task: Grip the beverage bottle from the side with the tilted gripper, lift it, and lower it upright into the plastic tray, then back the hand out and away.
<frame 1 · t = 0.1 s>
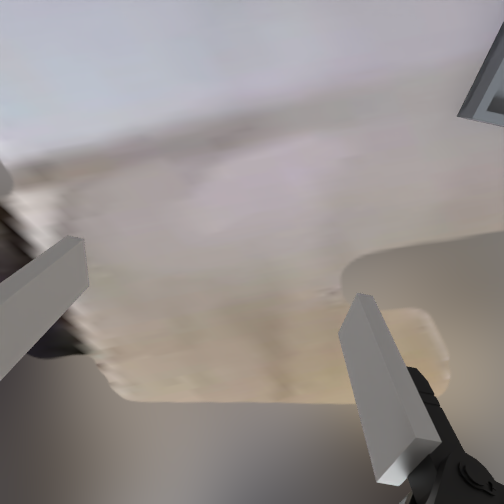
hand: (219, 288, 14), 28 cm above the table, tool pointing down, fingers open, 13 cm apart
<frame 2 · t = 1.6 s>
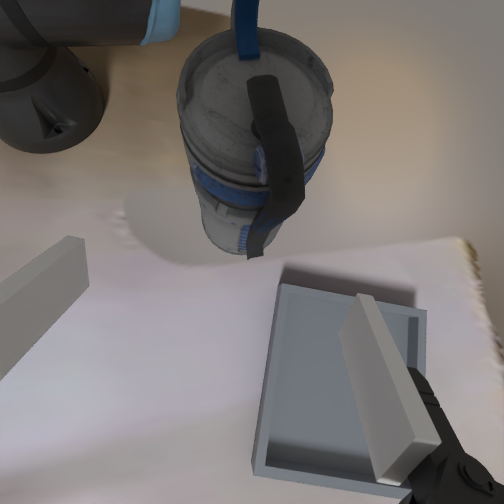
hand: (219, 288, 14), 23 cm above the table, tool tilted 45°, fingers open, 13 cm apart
tray: (337, 380, 35), on the table
beverage bottle: (242, 227, 39), on the table
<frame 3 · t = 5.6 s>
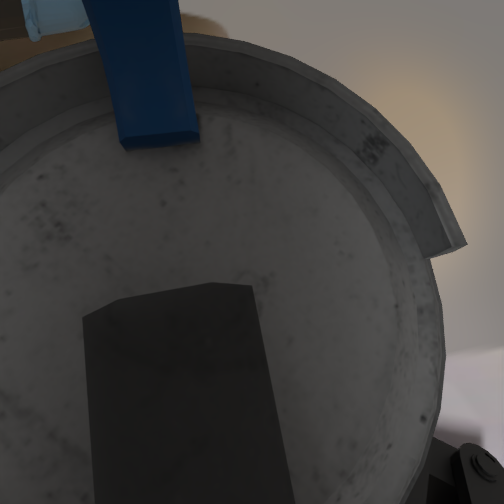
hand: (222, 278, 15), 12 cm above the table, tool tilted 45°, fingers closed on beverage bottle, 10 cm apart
beverage bottle: (217, 333, 26), on the table, touching gripper
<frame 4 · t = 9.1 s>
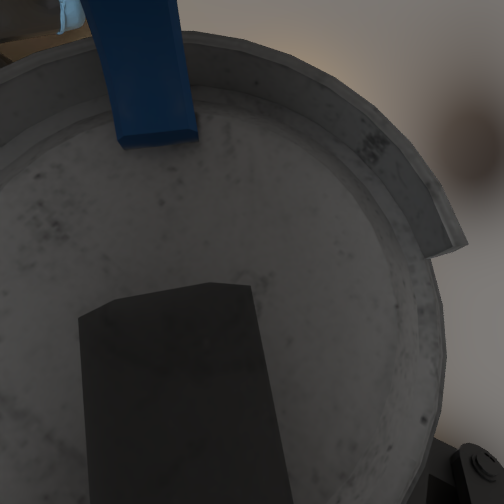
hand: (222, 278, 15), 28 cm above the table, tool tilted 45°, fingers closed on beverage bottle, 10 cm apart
beverage bottle: (217, 333, 26), point 16 cm above the table, touching gripper
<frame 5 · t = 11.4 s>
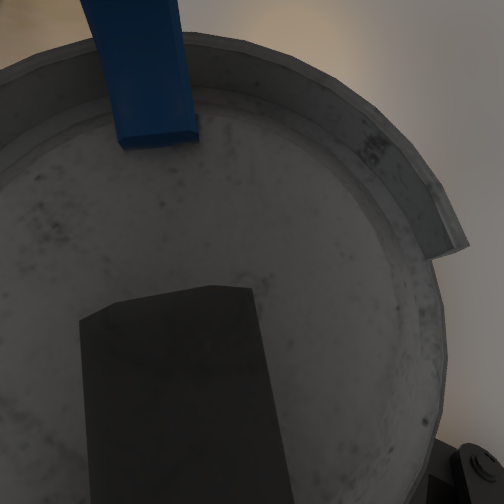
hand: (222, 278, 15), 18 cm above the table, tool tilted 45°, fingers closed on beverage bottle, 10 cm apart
beverage bottle: (217, 333, 26), point 6 cm above the table, touching gripper
when the fingers open (14 cm above the table, at t = 13.0 s): beverage bottle drops 1 cm, resting on tray.
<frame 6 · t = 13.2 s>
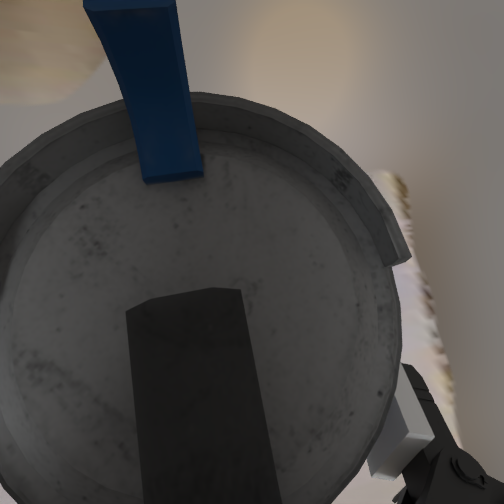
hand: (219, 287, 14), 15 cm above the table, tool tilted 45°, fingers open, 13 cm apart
beverage bottle: (221, 335, 27), point 1 cm above the table, touching tray
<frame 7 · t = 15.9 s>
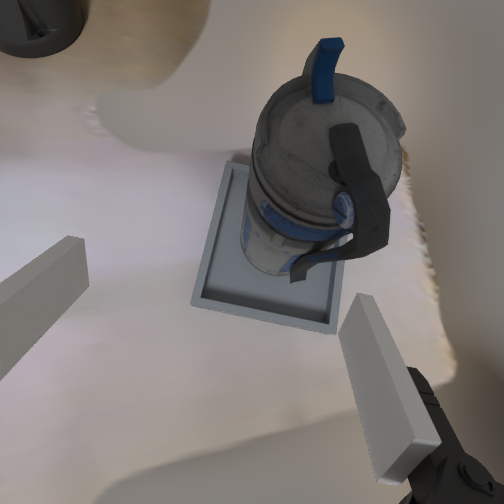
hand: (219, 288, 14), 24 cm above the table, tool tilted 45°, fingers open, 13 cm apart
tray: (274, 248, 40), on the table
beverage bottle: (277, 248, 40), point 1 cm above the table, touching tray
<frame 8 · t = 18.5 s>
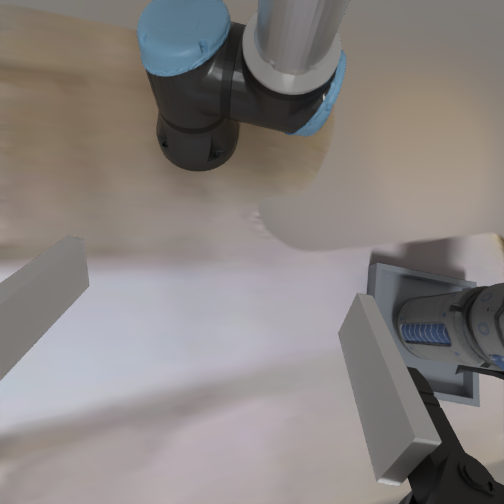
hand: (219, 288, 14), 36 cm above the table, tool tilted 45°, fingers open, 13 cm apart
tray: (414, 331, 51), on the table
beverage bottle: (419, 332, 50), point 1 cm above the table, touching tray
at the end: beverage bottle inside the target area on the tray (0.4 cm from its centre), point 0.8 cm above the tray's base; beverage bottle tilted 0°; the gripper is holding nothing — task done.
